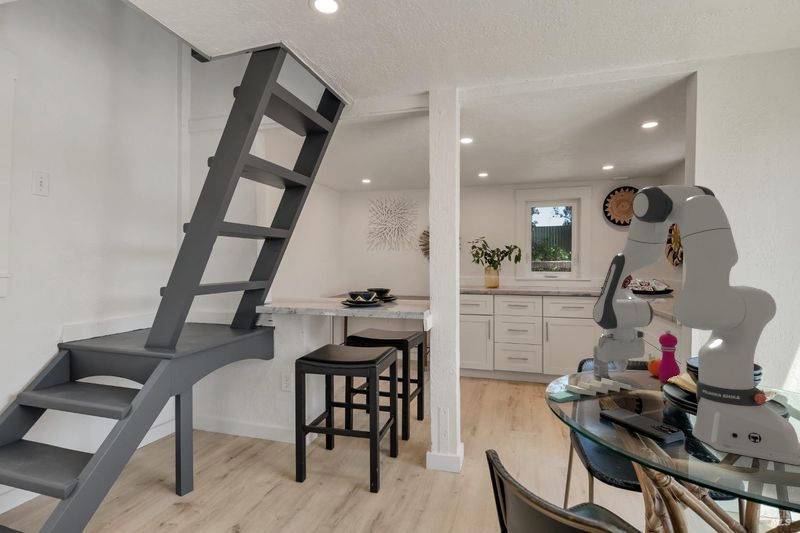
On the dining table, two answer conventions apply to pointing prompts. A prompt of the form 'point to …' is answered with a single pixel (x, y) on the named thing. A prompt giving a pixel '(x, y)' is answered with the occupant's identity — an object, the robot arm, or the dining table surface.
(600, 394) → the mat
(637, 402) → the dining table surface
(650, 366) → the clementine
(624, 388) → the domino
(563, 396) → the domino
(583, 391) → the domino
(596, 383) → the domino
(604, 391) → the domino
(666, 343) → the pepper mill
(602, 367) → the energy drink
